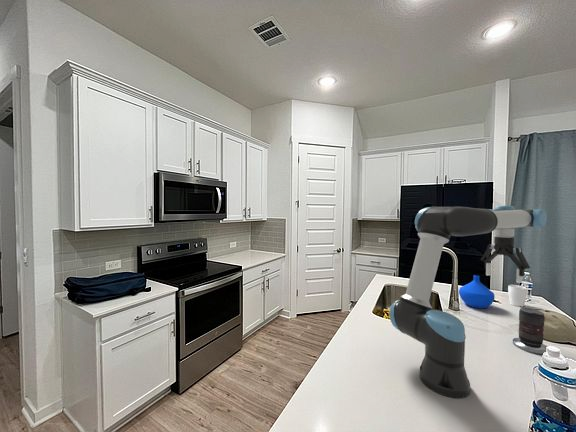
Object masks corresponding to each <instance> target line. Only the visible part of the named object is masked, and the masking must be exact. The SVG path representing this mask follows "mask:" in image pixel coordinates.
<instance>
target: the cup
mask: <svg viewBox="0 0 576 432" xmlns="http://www.w3.org/2000/svg"><path fill="white" fill-rule="evenodd" d="M507 292H508V299H509V304H510V305H511V304H512V305H511V306H514V305H515V306H514V307H518V306H521V307H520V308H524V307H525V304H526V300H527V294H528V288H527V287H526V286H524V285H520V284H518V285H517V284H508V287H507ZM523 306H524V307H523Z"/></svg>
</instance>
